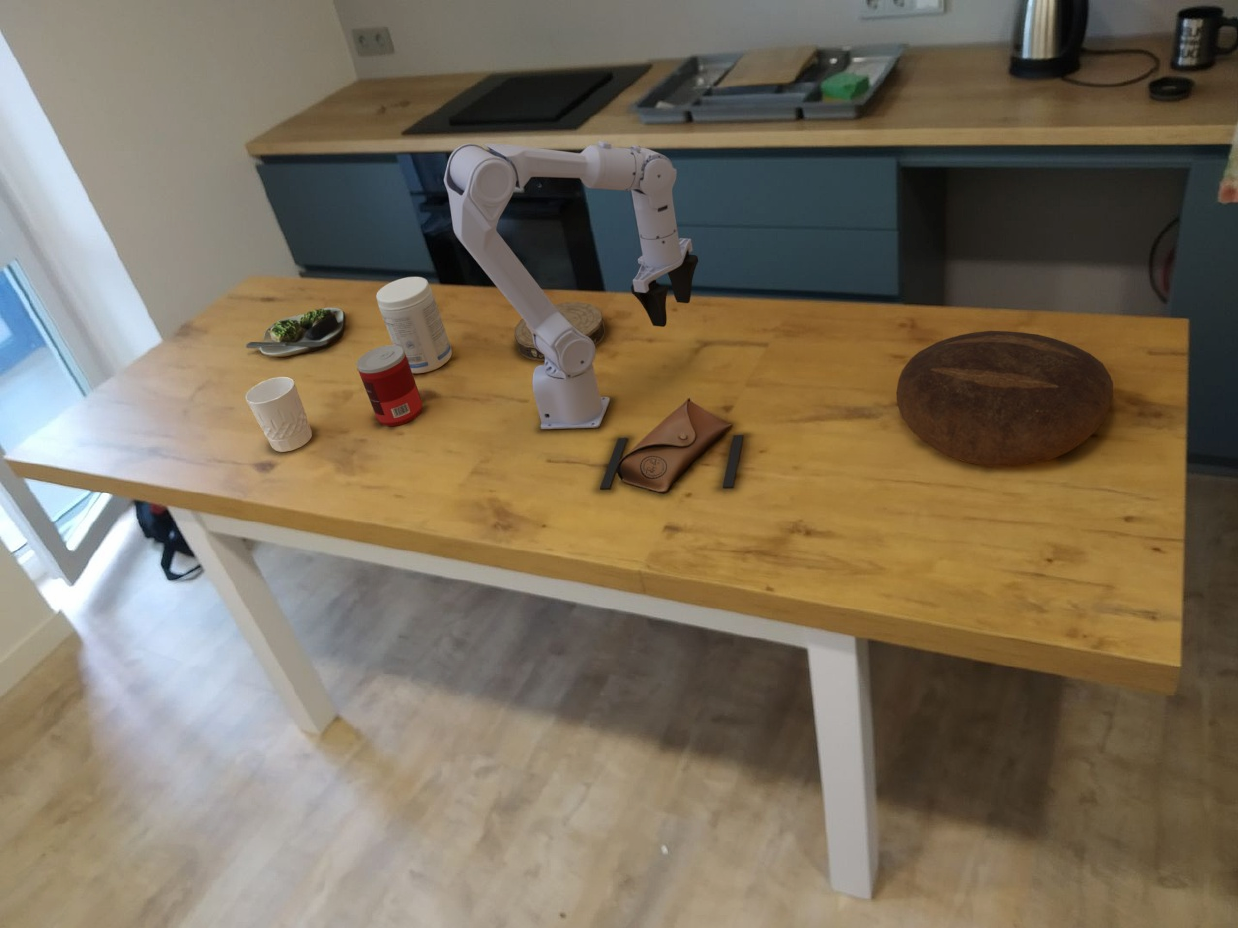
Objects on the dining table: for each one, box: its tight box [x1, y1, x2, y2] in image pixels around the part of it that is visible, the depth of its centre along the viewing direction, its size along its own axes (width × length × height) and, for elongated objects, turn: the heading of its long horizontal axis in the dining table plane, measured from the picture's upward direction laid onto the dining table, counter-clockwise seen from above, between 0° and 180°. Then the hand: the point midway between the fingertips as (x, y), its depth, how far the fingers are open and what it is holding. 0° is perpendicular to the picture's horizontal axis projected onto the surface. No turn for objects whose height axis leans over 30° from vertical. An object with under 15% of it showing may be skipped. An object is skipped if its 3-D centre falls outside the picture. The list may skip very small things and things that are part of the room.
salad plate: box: [245, 306, 346, 357], centre depth 194 cm, size 19×18×5 cm
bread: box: [896, 330, 1114, 467], centre depth 133 cm, size 28×27×9 cm
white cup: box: [244, 376, 313, 453], centre depth 161 cm, size 8×8×10 cm
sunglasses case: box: [616, 397, 733, 493], centre depth 140 cm, size 18×7×7 cm
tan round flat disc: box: [513, 301, 606, 362], centre depth 175 cm, size 16×16×3 cm
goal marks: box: [599, 434, 744, 490], centre depth 139 cm, size 19×12×1 cm, turn 78°
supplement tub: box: [375, 276, 453, 374], centre depth 174 cm, size 10×10×15 cm
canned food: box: [356, 344, 423, 427], centre depth 161 cm, size 8×8×11 cm
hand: (671, 313), depth 153 cm, fingers open, 7 cm apart
